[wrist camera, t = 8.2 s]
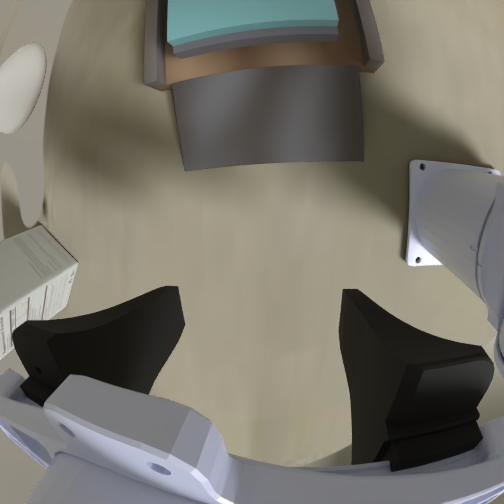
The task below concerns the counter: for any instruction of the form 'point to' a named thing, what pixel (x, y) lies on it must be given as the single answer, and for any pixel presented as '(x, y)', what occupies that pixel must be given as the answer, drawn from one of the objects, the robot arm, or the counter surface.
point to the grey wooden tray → (267, 93)
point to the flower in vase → (20, 85)
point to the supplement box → (32, 280)
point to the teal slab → (247, 24)
